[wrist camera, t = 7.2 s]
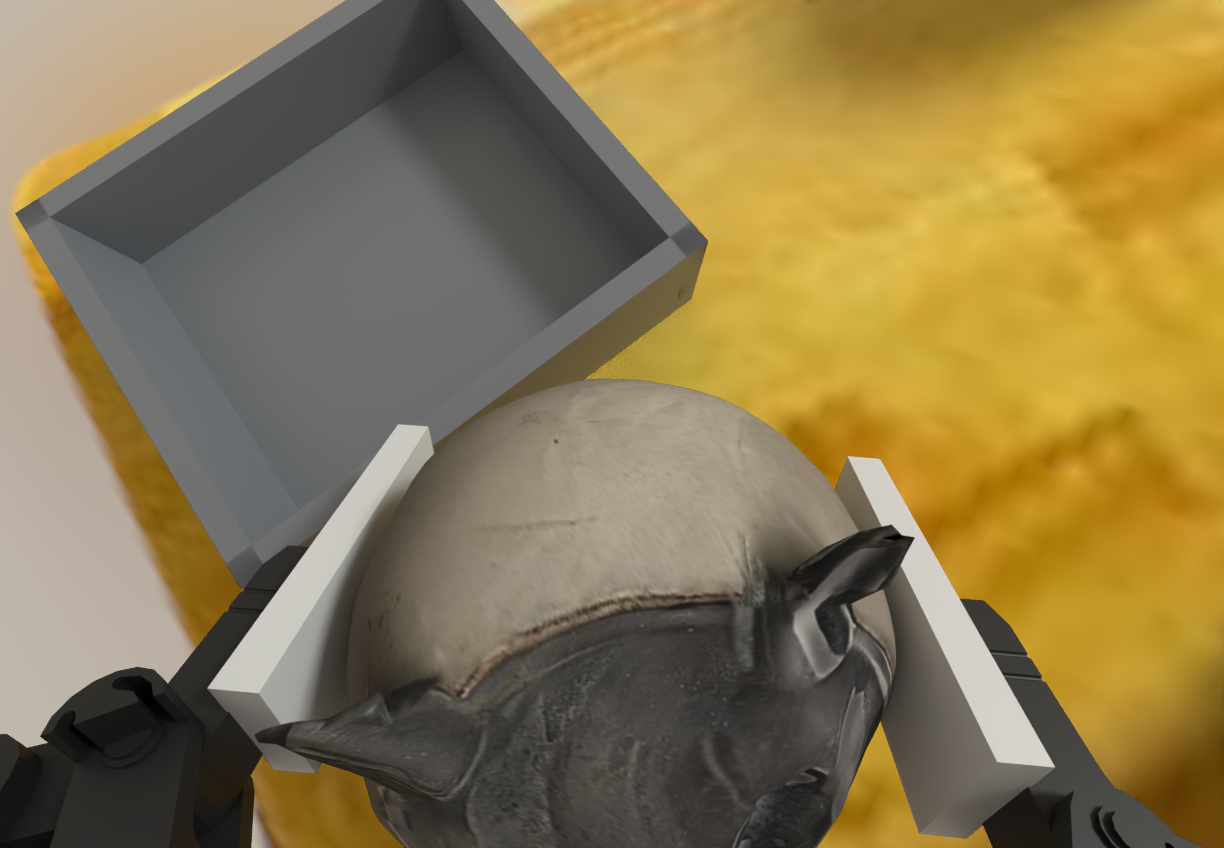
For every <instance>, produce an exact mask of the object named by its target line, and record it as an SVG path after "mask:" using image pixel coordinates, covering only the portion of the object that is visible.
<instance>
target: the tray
mask: <svg viewBox="0 0 1224 848" xmlns="http://www.w3.org/2000/svg"><path fill="white" fill-rule="evenodd" d="M15 214H16V215H17V217H18V219H19V220H20V222H21V224H22V225H23V227H24V229H25V230H26V232H27V234H28V235H29V237H30V239H31V240H32V242H33V244H34V245H35V247H36V249H37V250H38V252H39V254H40V255H41V257H42V259H43V260H44V262H45V264H46V265H47V267H48V269H49V270H50V272H51V274H52V275H53V277H54V279H55V280H56V282H57V284H58V285H59V287H60V289H61V290H62V292H63V294H64V295H65V297H66V299H67V300H68V302H69V304H70V305H71V307H72V309H73V310H74V312H75V314H76V315H77V317H78V319H79V320H80V322H81V324H82V325H83V327H84V329H85V330H86V332H87V334H88V335H89V337H90V339H91V340H92V342H93V344H94V345H95V347H96V349H97V350H98V352H99V354H100V355H101V357H102V359H103V360H104V362H105V364H106V365H107V367H108V369H109V370H110V372H111V374H112V375H113V377H114V379H115V380H116V382H117V384H118V385H119V387H120V389H121V390H122V392H123V394H124V395H125V397H126V399H127V400H128V402H129V404H130V405H131V407H132V409H133V410H134V412H135V414H136V415H137V417H138V419H139V420H140V422H141V424H142V425H143V427H144V429H145V430H146V432H147V434H148V435H149V437H150V439H151V440H152V442H153V444H154V445H155V447H156V449H157V450H158V452H159V454H160V455H161V457H162V459H163V460H164V462H165V463H166V465H167V467H168V468H169V470H170V472H171V473H172V475H173V477H174V478H175V480H176V482H177V483H178V485H179V487H180V488H181V490H182V492H183V493H184V495H185V497H186V498H187V500H188V502H189V503H190V505H191V507H192V508H193V510H194V512H195V513H196V515H197V517H198V518H199V520H200V522H201V523H202V525H203V527H204V528H205V530H206V532H207V533H208V535H209V537H210V538H211V540H212V542H213V543H214V545H215V547H216V548H217V550H218V552H219V553H220V555H221V557H222V558H223V560H224V562H225V563H226V565H227V567H228V568H229V570H230V572H231V573H232V575H233V577H234V578H235V580H236V582H237V583H238V585H239V587H240V588H244V587H245V586H246V585H247V583H248V582H249V581H250V580H251V578H252V577H253V576H254V575H255V573H256V572H257V571H258V570H259V568H260V567H261V566H262V564H264V563H265V562H266V561H268V560H269V559H270V558H272V557H273V556H274V555H276V554H277V553H278V552H280V551H281V550H282V549H284V548H285V547H286V546H288V545H291V546H303V547H310V546H311V544H312V543H313V542H314V540H315V539H316V537H317V536H318V535H319V533H320V532H321V530H322V529H323V528H324V526H325V525H326V524H327V522H328V521H329V519H330V518H331V517H332V515H333V514H334V513H335V511H336V510H337V508H338V507H339V506H340V504H341V503H342V501H343V500H344V499H345V497H346V496H347V495H348V493H349V492H350V490H351V489H352V488H353V486H354V485H355V483H356V482H357V481H358V479H359V478H360V477H361V475H362V474H363V472H364V471H365V470H366V468H367V467H368V466H369V464H370V463H371V461H372V460H373V459H374V457H375V456H376V454H377V453H378V452H379V450H380V449H381V448H382V446H383V445H384V443H385V442H386V441H387V439H388V438H389V437H390V435H391V434H392V432H393V431H394V430H395V428H396V427H397V425H398V424H401V425H415V426H428V427H429V432H430V437H431V441H432V446H433V451H434V453H435V452H436V451H437V450H438V449H439V448H440V447H441V446H442V445H443V444H444V443H445V442H447V441H448V440H449V439H450V438H452V437H453V436H454V435H455V434H457V433H458V432H459V431H461V430H462V429H464V428H465V427H466V426H468V425H469V424H471V423H472V422H474V421H475V420H476V419H478V418H480V417H482V416H484V415H486V414H488V413H490V412H492V411H493V410H495V409H497V408H500V407H502V406H504V405H506V404H508V403H510V402H513V401H515V400H517V399H520V398H522V397H525V396H528V395H531V394H534V393H536V392H539V391H542V390H545V389H548V388H551V387H555V386H560V385H564V384H568V383H572V382H576V381H580V380H584V379H585V378H586V377H588V376H589V375H590V374H592V373H593V372H594V371H596V370H597V369H598V368H600V367H601V366H602V365H604V364H605V363H606V362H608V361H609V360H610V359H612V358H613V357H614V356H615V355H617V354H618V353H619V352H621V351H622V350H623V349H625V348H626V347H627V346H629V345H630V344H631V343H633V342H634V341H635V340H637V339H638V338H639V337H641V336H642V335H643V334H645V333H646V332H647V331H649V330H650V329H651V328H653V327H654V326H655V325H657V324H658V323H659V322H661V321H662V320H663V319H665V318H666V317H667V316H669V315H670V314H671V313H673V312H674V311H675V310H677V309H678V308H679V307H681V306H682V305H683V304H685V303H686V302H687V301H689V300H690V299H691V298H692V295H693V291H694V288H695V284H696V281H697V278H698V274H699V271H700V267H701V264H702V261H703V257H704V254H705V250H706V247H707V244H708V240H707V239H706V238H705V237H704V236H703V235H702V234H701V233H700V231H699V230H698V229H697V228H696V227H695V226H694V225H693V224H692V222H691V221H690V220H689V219H688V218H687V217H686V216H685V215H684V213H683V212H682V211H681V210H680V209H679V208H678V207H677V206H676V204H675V203H674V202H673V201H672V200H671V199H670V198H669V197H668V195H667V194H666V193H665V192H664V191H663V190H662V189H661V188H660V186H659V185H658V184H657V183H656V182H655V181H654V180H653V179H652V177H651V176H650V175H649V174H648V173H647V172H646V171H645V170H644V168H643V167H642V166H641V165H640V164H639V163H638V162H637V161H636V159H635V158H634V157H633V156H632V155H631V154H630V153H629V152H628V150H627V149H626V148H625V147H624V146H623V145H622V144H621V143H620V141H619V140H618V139H617V138H616V137H615V136H614V135H613V134H612V132H611V131H610V130H609V129H608V128H607V127H606V126H605V125H604V123H603V122H602V121H601V120H600V119H599V118H598V117H597V116H596V114H595V113H594V112H593V111H592V110H591V109H590V108H589V107H588V105H587V104H586V103H585V102H584V101H583V100H582V99H581V98H580V96H579V95H578V94H577V93H576V92H575V91H574V90H573V89H572V87H571V86H570V85H569V84H568V83H567V82H566V81H565V80H564V78H563V77H562V76H561V75H560V74H559V73H558V72H557V71H556V69H555V68H554V67H553V66H552V65H551V64H550V63H549V62H548V60H547V59H546V58H545V57H544V56H543V55H542V54H541V53H540V51H539V50H538V49H537V48H536V47H535V46H534V45H533V44H532V42H531V41H530V40H529V39H528V38H527V37H526V36H525V35H524V33H523V32H522V31H521V30H520V29H519V28H518V27H517V26H516V24H515V23H514V22H513V21H512V20H511V19H510V18H509V17H508V15H507V14H506V13H505V12H504V11H503V10H502V9H501V8H500V6H499V5H498V4H497V3H496V2H495V1H494V0H345V1H344V2H343V3H341V4H339V5H338V6H336V7H335V8H333V9H332V10H330V11H328V12H327V13H326V14H324V15H322V16H321V17H319V18H318V19H316V20H315V21H313V22H311V23H310V24H308V25H307V26H305V27H304V28H302V29H301V30H299V31H297V32H296V33H294V34H293V35H291V36H290V37H288V38H287V39H285V40H283V41H282V42H280V43H279V44H277V45H276V46H274V47H273V48H271V49H269V50H268V51H266V52H265V53H263V54H262V55H260V56H259V57H257V58H256V59H254V60H252V61H251V62H249V63H248V64H246V65H245V66H243V67H242V68H240V69H238V70H237V71H235V72H234V73H232V74H231V75H229V76H228V77H226V78H224V79H223V80H221V81H220V82H218V83H217V84H215V85H214V86H212V87H211V88H209V89H207V90H206V91H204V92H203V93H201V94H200V95H198V96H197V97H195V98H193V99H192V100H190V101H189V102H187V103H186V104H184V105H183V106H181V107H179V108H178V109H176V110H175V111H173V112H172V113H170V114H169V115H167V116H166V117H164V118H162V119H161V120H159V121H158V122H156V123H155V124H153V125H152V126H150V127H148V128H147V129H145V130H144V131H142V132H141V133H139V134H138V135H136V136H134V137H133V138H131V139H130V140H128V141H127V142H125V143H124V144H122V145H121V146H119V147H117V148H116V149H114V150H113V151H111V152H110V153H108V154H107V155H105V156H103V157H102V158H100V159H99V160H97V161H96V162H94V163H93V164H91V165H89V166H88V167H86V168H85V169H83V170H82V171H80V172H79V173H77V174H76V175H74V176H72V177H71V178H69V179H68V180H66V181H65V182H63V183H62V184H60V185H58V186H57V187H55V188H54V189H52V190H51V191H49V192H48V193H46V194H44V195H43V196H41V197H40V198H38V199H37V200H35V201H34V202H32V203H31V204H29V205H27V206H26V207H24V208H23V209H21V210H20V211H18V212H17V213H15Z"/></svg>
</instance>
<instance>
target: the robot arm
mask: <svg viewBox="0 0 1224 848" xmlns="http://www.w3.org/2000/svg"><path fill="white" fill-rule="evenodd" d="M433 454H434V451H433V446H432V441H431V437H430V432H429V427H428V426H415V425H401V424H398V425H397V427H396V428H395V430H394V431H393V432H392V434H391V435H390V437H389V438H388V439H387V441H386V442H385V443H384V445H383V446H382V448H381V449H380V450H379V452H378V453H377V454H376V456H375V457H374V459H373V460H372V461H371V463H370V464H369V466H368V467H367V468H366V470H365V471H364V472H363V474H362V475H361V477H360V478H359V479H358V481H357V482H356V483H355V485H354V486H353V488H352V489H351V490H350V492H349V493H348V495H347V496H346V497H345V499H344V500H343V501H342V503H341V504H340V506H339V507H338V508H337V510H336V511H335V513H334V514H333V515H332V517H331V518H330V519H329V521H328V522H327V524H326V525H325V526H324V528H323V529H322V530H321V532H320V533H319V535H318V536H317V537H316V539H315V540H314V542H313V543H312V544H311V546H310V547H303V546H291V545H288V546H286V547H285V548H284V549H282V550H281V551H280V552H278V553H277V554H276V555H274V556H273V557H272V558H270V559H269V560H268V561H266V562H265V563H264V564H262V566H261V567H260V568H259V570H258V571H257V572H256V573H255V575H254V576H253V577H252V578H251V580H250V581H249V582H248V583H247V585H246V586H245V587H244V591H243V592H240V594H239V595H238V596H237V597H236V599H235V600H234V601H233V602H232V604H231V605H230V606H229V610H228V612H224V614H223V615H222V616H221V617H220V619H219V620H218V621H217V623H216V624H215V625H214V626H213V628H212V629H211V630H210V631H209V633H208V634H207V635H206V636H205V638H204V639H203V640H202V641H201V643H200V644H199V645H198V646H197V648H196V649H195V650H194V652H193V653H192V654H191V655H190V657H189V658H188V659H187V660H186V662H185V663H184V664H183V665H182V667H181V668H180V669H179V671H178V672H177V673H176V674H175V675H174V677H173V678H172V679H171V681H170V682H169V683H168V684H167V683H166V681H165V680H164V679H163V678H162V677H161V676H160V675H159V674H158V673H157V672H156V671H155V670H153V669H147V668H140V667H135V668H130V669H125V670H120V671H116V672H114V673H112V674H109V675H107V676H105V677H103V678H100V679H98V680H96V681H94V682H92V683H91V684H90V685H88V686H86V687H85V688H84V689H82V690H81V691H79V692H78V693H76V694H75V695H74V696H72V697H71V698H70V699H69V700H68V701H67V702H66V703H65V704H64V705H63V706H62V707H61V708H60V709H59V710H58V711H57V712H56V713H55V714H54V715H53V716H52V717H51V719H50V720H49V722H48V724H47V726H46V727H45V729H44V731H43V732H42V734H41V736H40V737H42V738H43V739H44V740H46V741H47V742H48V743H46V744H41V745H37V746H33V747H28V748H26V747H25V746H24V745H22V744H21V743H19V742H18V741H16V740H15V739H13V738H12V737H10V736H9V735H7V734H0V848H251V841H252V825H253V808H254V786H253V780H252V777H251V774H252V772H253V770H254V769H255V767H256V765H257V763H258V762H259V760H260V758H261V756H263V757H264V758H265V760H266V761H267V762H268V763H269V765H270V766H271V767H272V768H273V769H274V770H281V771H291V772H301V773H311V774H317V772H318V769H319V767H320V765H321V762H318V761H315V760H312V759H309V758H305V757H303V756H300V755H298V754H296V753H294V752H292V751H290V750H287V749H285V748H283V747H281V746H279V745H276V744H266V743H258V741H257V739H256V738H255V736H254V735H255V734H256V733H258V732H260V731H261V730H263V729H267V728H270V727H274V726H278V725H281V724H286V723H291V722H297V721H307V720H316V719H325V718H330V717H332V716H334V715H336V714H338V713H340V712H341V711H343V710H345V709H347V708H348V706H347V690H346V673H347V653H348V638H349V629H350V619H351V610H352V602H353V600H354V597H355V595H356V593H357V590H358V588H359V585H360V583H361V581H362V578H363V576H364V573H365V571H366V569H367V566H368V564H369V562H370V560H371V558H372V556H373V554H374V552H375V550H376V548H377V546H378V544H379V542H380V540H381V537H382V535H383V534H384V532H385V530H386V528H387V526H388V524H389V522H390V520H391V518H392V517H393V515H394V513H395V511H396V509H397V507H398V505H399V504H400V502H401V500H402V498H403V496H404V495H405V493H406V491H407V489H408V487H409V485H410V484H411V482H412V480H413V479H414V478H415V476H416V475H417V473H418V472H419V471H420V469H421V468H422V466H423V465H424V464H425V463H426V462H427V460H428V459H429V458H430V457H431V456H432V455H433ZM835 492H836V493H837V495H838V496H839V498H840V499H841V501H842V502H843V504H844V506H845V508H846V509H847V511H848V513H849V515H850V516H851V518H852V520H853V522H854V523H855V525H856V527H857V529H858V531H859V532H861V531H865V530H869V529H873V528H877V527H882V526H887V525H891V524H892V525H893V526H894V527H895V528H896V529H897V530H898V532H899V533H900V534H901V535H904V536H910V537H915V539H914V541H913V542H912V544H911V546H910V548H909V550H908V551H907V553H906V555H905V557H904V559H903V562H902V564H901V566H900V568H899V570H898V572H897V574H896V575H895V577H894V579H893V581H892V583H891V585H890V586H889V587H888V588H885V589H883V590H884V593H885V596H886V600H887V603H888V607H889V611H890V615H891V620H892V625H893V630H894V636H895V647H896V672H895V681H894V687H893V692H892V695H891V698H890V701H889V704H888V707H887V710H886V712H885V715H884V716H883V718H882V719H881V723H882V726H883V729H884V732H885V735H886V738H887V741H888V744H889V747H890V749H891V752H892V755H893V758H894V761H895V764H896V767H897V770H898V773H899V776H900V779H901V782H902V785H903V787H904V790H905V793H906V796H907V799H908V802H909V805H910V808H911V811H912V814H913V817H914V820H915V822H916V825H917V828H918V831H919V834H927V835H937V836H947V837H957V838H967V837H969V836H970V835H971V834H972V833H974V832H975V831H976V830H978V829H979V828H980V827H981V826H984V828H985V831H986V833H987V835H988V838H989V840H990V842H991V845H992V847H993V848H1205V847H1203V846H1200V845H1198V844H1195V843H1193V842H1190V841H1188V840H1186V839H1183V838H1181V837H1179V836H1177V835H1175V834H1173V832H1172V831H1171V830H1170V828H1169V827H1168V826H1167V825H1166V824H1164V823H1163V822H1162V821H1161V820H1160V819H1159V818H1158V817H1157V816H1156V815H1155V814H1154V813H1153V812H1152V811H1151V810H1150V809H1149V808H1148V807H1146V806H1145V805H1143V804H1142V803H1140V802H1139V801H1137V800H1136V799H1134V798H1133V797H1131V796H1130V795H1128V794H1127V793H1125V792H1123V791H1121V790H1118V789H1116V788H1114V787H1113V785H1112V784H1111V783H1110V781H1109V780H1108V779H1107V777H1106V776H1105V775H1104V773H1103V772H1102V770H1101V769H1100V767H1099V766H1098V764H1097V763H1096V761H1095V759H1094V758H1093V756H1092V755H1091V753H1090V752H1089V750H1088V748H1087V747H1086V745H1085V744H1084V742H1083V740H1082V739H1081V737H1080V736H1079V734H1078V733H1077V731H1076V729H1075V728H1074V726H1073V725H1072V723H1071V721H1070V720H1069V718H1068V717H1067V715H1066V714H1065V712H1064V710H1063V709H1062V707H1061V706H1060V704H1059V702H1058V701H1057V699H1056V698H1055V696H1054V695H1053V693H1052V691H1051V690H1050V688H1049V687H1048V685H1047V684H1046V682H1043V681H1042V679H1041V677H1042V676H1041V674H1040V672H1039V671H1038V669H1037V668H1036V666H1035V665H1034V663H1033V661H1032V660H1031V658H1028V657H1027V652H1026V650H1025V649H1024V647H1023V646H1022V644H1021V642H1020V641H1019V639H1018V638H1017V636H1016V634H1015V633H1014V631H1013V630H1012V628H1011V627H1010V625H1009V624H1008V623H1007V622H1006V621H1005V620H1004V619H1003V618H1002V617H1000V616H999V615H998V614H997V613H996V612H995V611H994V610H993V609H992V608H991V607H990V606H989V605H988V604H987V603H986V602H985V601H982V600H970V599H959V597H958V595H957V594H956V592H955V590H954V588H953V587H952V585H951V583H950V581H949V580H948V578H947V576H946V574H945V573H944V571H943V569H942V567H941V566H940V564H939V562H938V560H937V559H936V557H935V555H934V553H933V552H932V550H931V548H930V546H929V544H928V543H927V541H926V539H925V537H924V536H923V534H922V532H921V530H920V529H919V527H918V525H917V523H916V522H915V520H914V518H913V516H912V515H911V513H910V511H909V509H908V508H907V506H906V504H905V502H904V501H903V499H902V497H901V495H900V494H899V492H898V490H897V488H896V486H895V485H894V483H893V481H892V479H891V478H890V476H889V474H888V472H887V471H886V469H885V467H884V465H883V464H882V462H881V460H880V459H876V458H862V457H847V459H846V462H845V464H844V467H843V470H842V472H841V475H840V477H839V480H838V483H837V485H836V488H835Z"/></svg>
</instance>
